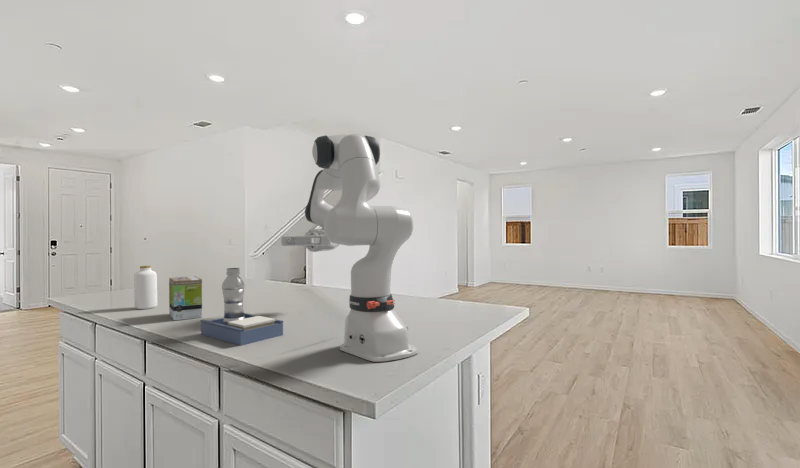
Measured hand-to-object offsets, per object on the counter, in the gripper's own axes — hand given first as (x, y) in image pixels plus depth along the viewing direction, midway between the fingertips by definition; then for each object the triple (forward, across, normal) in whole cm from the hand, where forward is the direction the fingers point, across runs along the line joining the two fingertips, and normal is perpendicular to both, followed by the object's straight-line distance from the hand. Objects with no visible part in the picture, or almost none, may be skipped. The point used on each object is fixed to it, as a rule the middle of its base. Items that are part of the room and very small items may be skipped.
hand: (297, 241), depth 148 cm
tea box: (+1, -48, +28) cm, 56 cm away
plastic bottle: (+21, -10, +28) cm, 37 cm away
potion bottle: (-9, -78, +28) cm, 84 cm away
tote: (+23, -6, +29) cm, 38 cm away
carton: (+25, -1, +28) cm, 38 cm away
